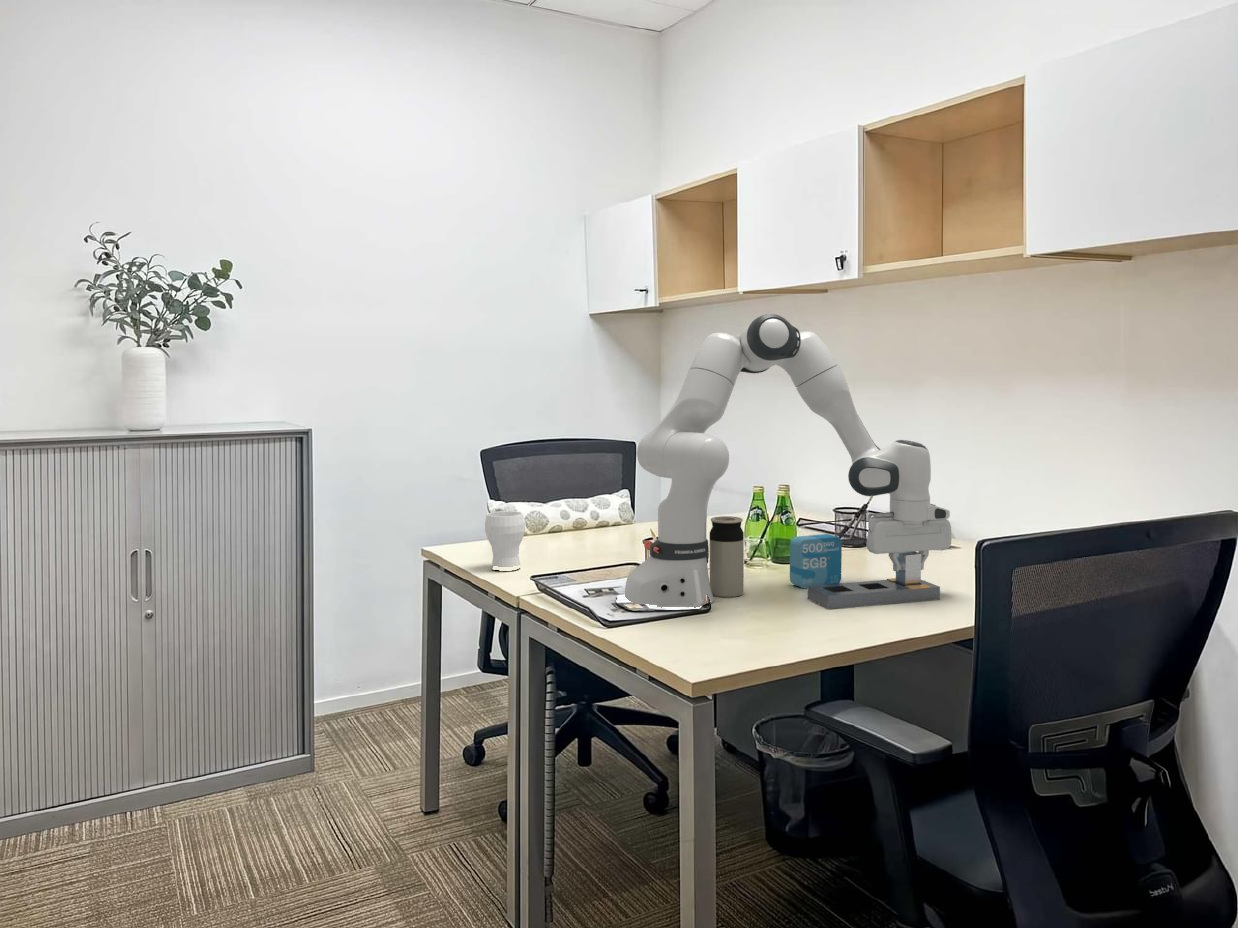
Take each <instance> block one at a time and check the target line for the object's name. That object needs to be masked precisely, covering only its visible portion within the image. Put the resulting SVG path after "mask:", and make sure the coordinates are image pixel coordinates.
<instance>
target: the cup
mask: <svg viewBox="0 0 1238 928" xmlns="http://www.w3.org/2000/svg"><path fill="white" fill-rule="evenodd" d="M525 532H526V521H525V517H524V514H523V512H521V511H515V510H501V511H492V512H489V513H486V517H485V522H484V533H485V534H486V538H487V541H488V543H489V544H490V546H491V550H492V563H491V566H492V565H493V566H498V567H513V566H518V565H520V566H521V562H520V557H519V553H520V552H519V551H520V545H521V543H522V541H523V539H524V535H525Z"/></svg>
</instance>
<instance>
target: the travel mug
mask: <svg viewBox="0 0 1238 928" xmlns="http://www.w3.org/2000/svg"><path fill="white" fill-rule="evenodd" d="M710 522H711V529H710V530H709V582H710V587H711V592H712V595H713V597H717V598H736V597H737V598H738V597H740V596H742V595H743V594H744V592H745V591H744V590H745V589H744V587H745V586H744V585H745V583H744V582H745V578H744V575H745V573H744V571H745V569H744V565H745V563H744V558H745V557H744V555H745V554H744V545H745V544H744V543H745V541H744V540H745V539H744V536H745V534H744V533H745V532H744V530H743V528H742V527H741V526H742V522H743V518H742V517H739V516H733V515H732V516H728V515H727V516H725V515H724V516H723V515H722V516H721V515H720V516H714V517H713V516H712V517H711V518H710Z"/></svg>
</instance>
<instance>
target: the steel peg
mask: <svg viewBox="0 0 1238 928" xmlns="http://www.w3.org/2000/svg"><path fill="white" fill-rule="evenodd" d="M897 560H898V562H899V563H901V564H903V567H902V569H903V570H902V571H899V572H896V571H895V578H896V584H899V585H901V586H904V587H905V586H910V585H921V580H922V570H921V554H920V553H918V551H914V552H899V557H897Z"/></svg>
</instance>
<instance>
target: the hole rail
mask: <svg viewBox="0 0 1238 928" xmlns="http://www.w3.org/2000/svg"><path fill="white" fill-rule="evenodd" d="M940 596H941V586H939V585H936V584H935V583H931V582H929V581H926V580H925V579H924V580H923V579H921V585H910V586H905V587H904V586H901V585H899V584H896V577H893V578H886V579H880V580H878V579H876V580H866V581H853V582H840V583H838V584H825V585H812V586H808V588H807V600H809V601H811V602H814V603H815V604H817V605H819V606H821V607H823V608H824V609H827V610H835V609H845V608H857V607H870V606H879V605H880V606H881V605H882V606H883V605H892V604H895V605H896V604H904V603H916V602H927V601H937V600H938V601H939V600H941V597H940Z"/></svg>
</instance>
